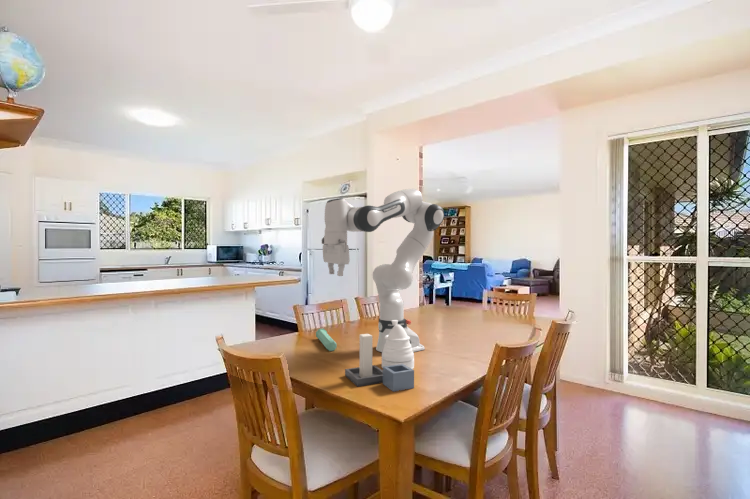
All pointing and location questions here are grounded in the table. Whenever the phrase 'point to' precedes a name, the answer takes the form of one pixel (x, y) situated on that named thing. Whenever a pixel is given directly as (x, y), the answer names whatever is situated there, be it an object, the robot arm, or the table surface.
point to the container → (326, 339)
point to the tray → (359, 381)
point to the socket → (398, 377)
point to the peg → (365, 355)
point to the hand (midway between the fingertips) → (335, 275)
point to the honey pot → (397, 348)
